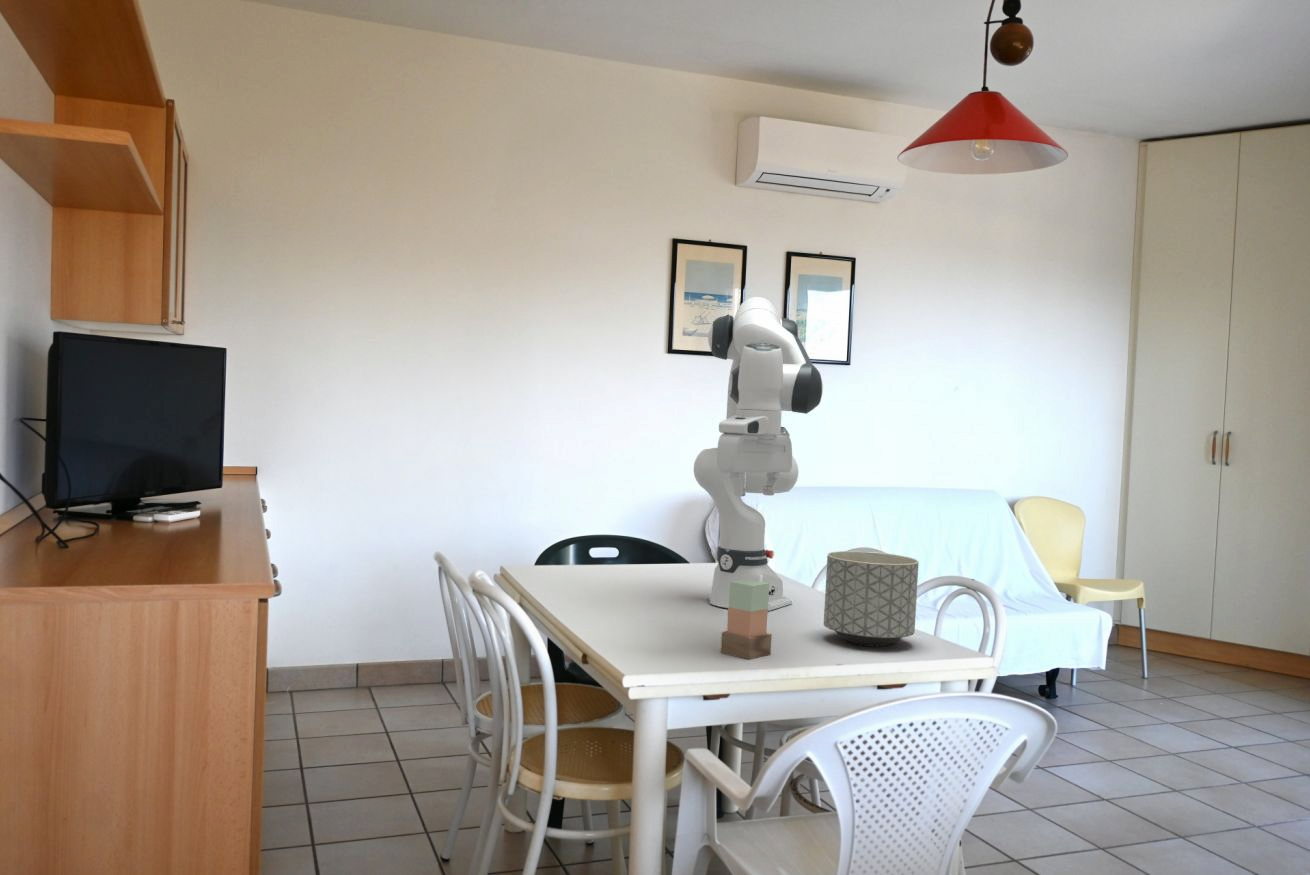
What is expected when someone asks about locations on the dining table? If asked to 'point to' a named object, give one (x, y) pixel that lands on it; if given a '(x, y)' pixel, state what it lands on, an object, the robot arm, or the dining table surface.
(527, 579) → the dining table surface
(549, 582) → the dining table surface
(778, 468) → the robot arm
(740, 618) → the terracotta block
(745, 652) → the walnut base
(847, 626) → the planter
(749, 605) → the sage block
